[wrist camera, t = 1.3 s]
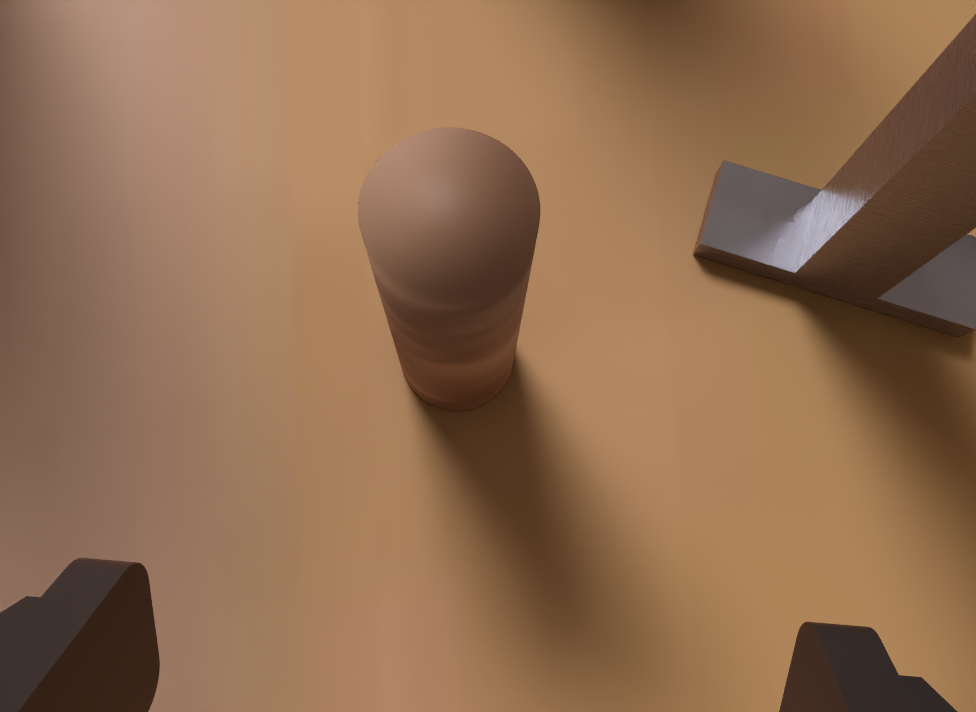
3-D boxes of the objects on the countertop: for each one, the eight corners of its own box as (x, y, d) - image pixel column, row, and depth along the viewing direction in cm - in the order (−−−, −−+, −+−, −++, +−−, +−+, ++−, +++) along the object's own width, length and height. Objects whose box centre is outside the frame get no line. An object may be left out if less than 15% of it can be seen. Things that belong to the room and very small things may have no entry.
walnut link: (384, 390, 30) (330, 261, 18) (422, 288, 31) (395, 106, 19) (492, 426, 30) (507, 318, 18) (527, 322, 31) (562, 158, 19)
